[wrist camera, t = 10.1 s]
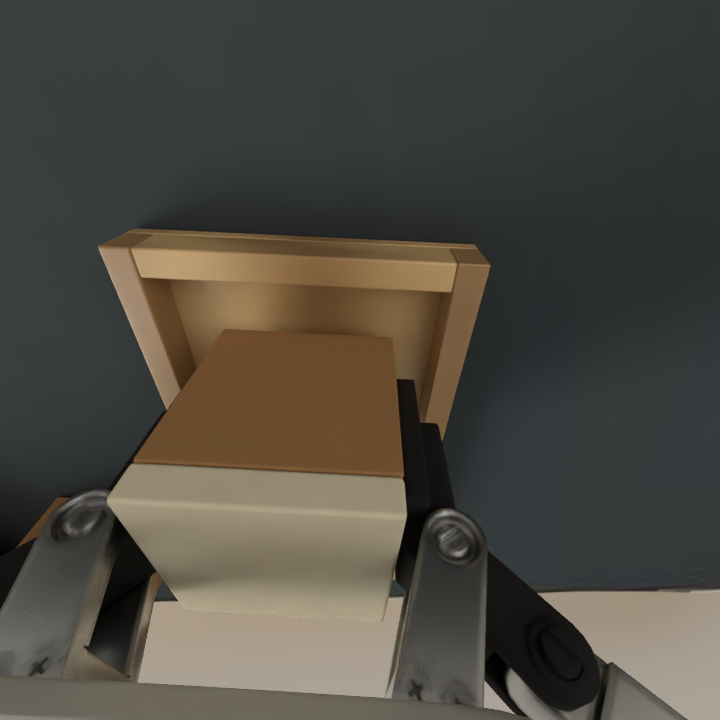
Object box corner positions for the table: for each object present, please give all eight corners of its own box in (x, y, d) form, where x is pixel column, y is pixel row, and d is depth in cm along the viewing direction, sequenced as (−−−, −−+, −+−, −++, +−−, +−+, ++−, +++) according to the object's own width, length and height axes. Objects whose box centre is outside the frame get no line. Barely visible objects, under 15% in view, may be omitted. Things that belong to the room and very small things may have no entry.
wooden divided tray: (243, 543, 20) (234, 572, 19) (133, 227, 9) (95, 246, 8) (402, 550, 20) (403, 580, 19) (475, 243, 9) (491, 264, 8)
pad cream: (250, 440, 13) (184, 612, 8) (223, 327, 10) (101, 501, 6) (380, 447, 13) (383, 624, 8) (393, 336, 10) (408, 517, 5)
